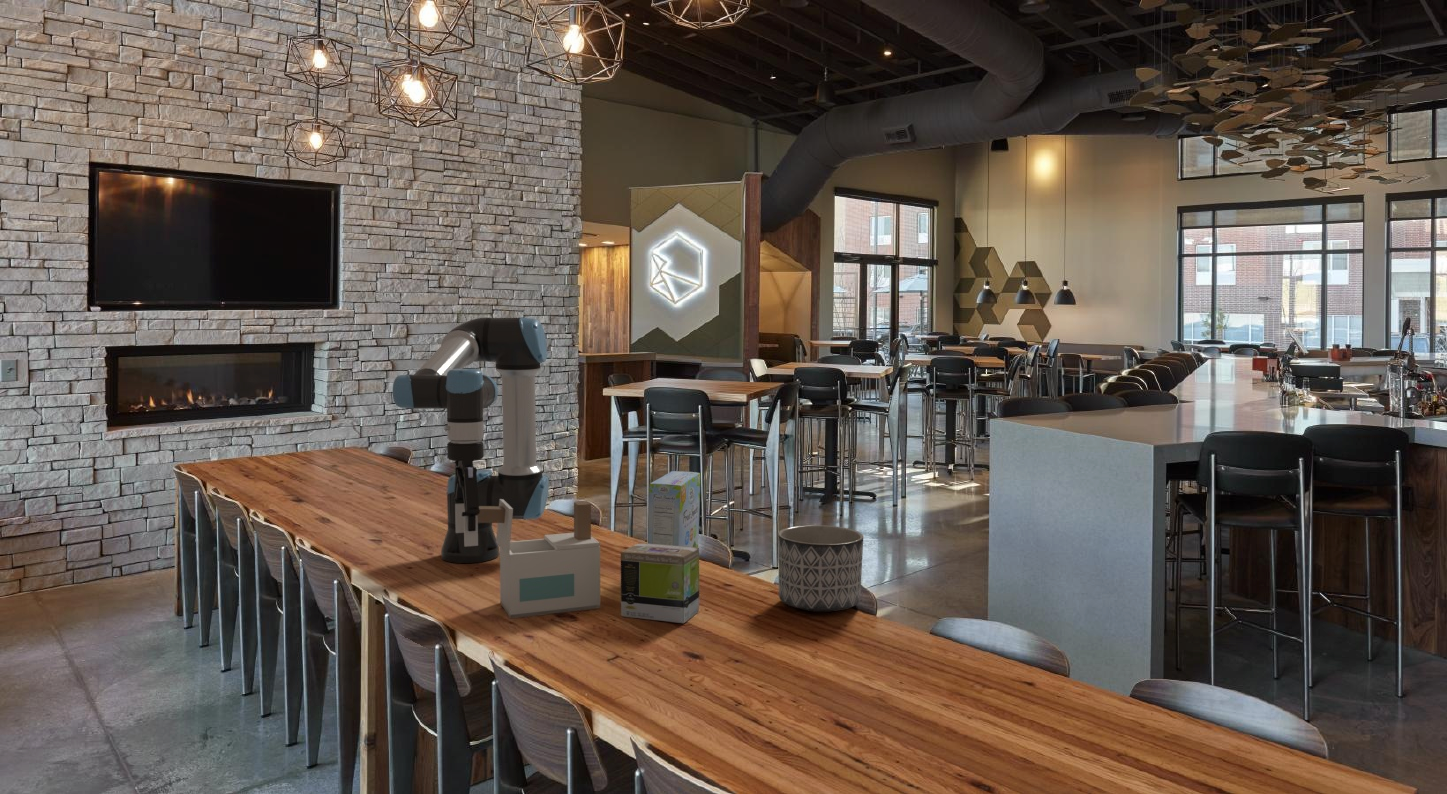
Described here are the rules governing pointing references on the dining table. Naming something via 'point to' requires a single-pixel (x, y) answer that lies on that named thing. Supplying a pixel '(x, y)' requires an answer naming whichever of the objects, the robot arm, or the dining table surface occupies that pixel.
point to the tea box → (660, 582)
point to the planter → (820, 567)
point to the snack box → (674, 509)
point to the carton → (552, 571)
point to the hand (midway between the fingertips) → (466, 539)
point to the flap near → (499, 522)
